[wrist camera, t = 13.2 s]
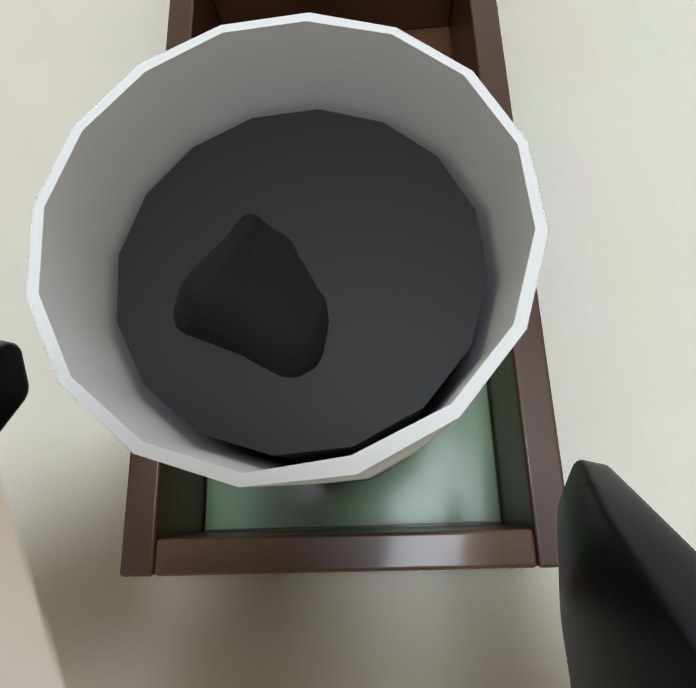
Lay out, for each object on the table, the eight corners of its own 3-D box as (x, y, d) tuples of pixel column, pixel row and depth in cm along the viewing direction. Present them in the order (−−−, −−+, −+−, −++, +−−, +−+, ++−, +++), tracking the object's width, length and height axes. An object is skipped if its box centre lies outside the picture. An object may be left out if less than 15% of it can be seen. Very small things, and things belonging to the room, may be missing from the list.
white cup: (391, 543, 15) (397, 608, 5) (194, 432, 16) (-80, 328, 7) (489, 339, 16) (629, 109, 7) (301, 252, 18) (200, -42, 8)
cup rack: (184, 559, 16) (117, 577, 12) (222, -121, 24) (190, -241, 20) (529, 551, 15) (577, 567, 12) (447, -143, 24) (458, -272, 20)
